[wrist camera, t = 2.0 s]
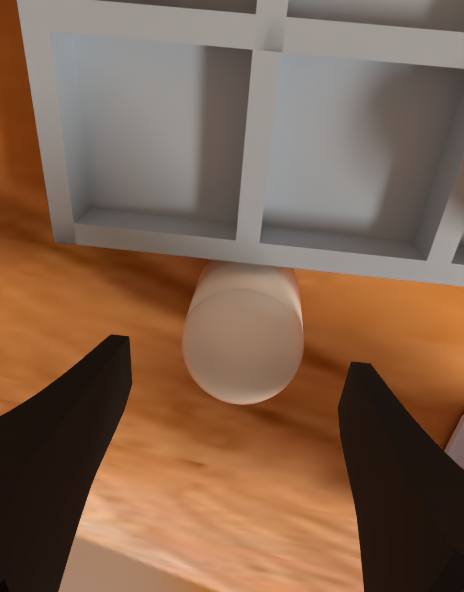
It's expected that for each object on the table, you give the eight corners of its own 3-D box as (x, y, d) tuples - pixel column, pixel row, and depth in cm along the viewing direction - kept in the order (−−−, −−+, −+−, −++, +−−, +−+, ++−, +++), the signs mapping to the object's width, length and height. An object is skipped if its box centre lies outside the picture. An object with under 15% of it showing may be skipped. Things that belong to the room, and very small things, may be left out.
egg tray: (586, 269, 16) (635, 305, 14) (82, 216, 17) (54, 242, 15) (898, -270, 9) (1089, -367, 7) (22, -323, 10) (-49, -426, 8)
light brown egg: (290, 337, 19) (296, 439, 14) (196, 327, 20) (169, 423, 15) (307, 251, 17) (320, 336, 12) (199, 239, 17) (169, 318, 12)
